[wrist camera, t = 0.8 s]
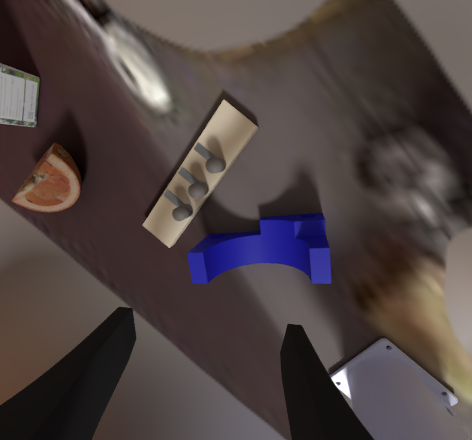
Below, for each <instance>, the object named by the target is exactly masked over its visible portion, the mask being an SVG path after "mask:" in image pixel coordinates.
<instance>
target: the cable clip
mask: <svg viewBox="0 0 472 440" xmlns="http://www.w3.org/2000/svg"><path fill="white" fill-rule="evenodd" d="M260 229H261V231H259V232H242V233H224V234H209V235H208V236H207V237H206V238H205V239H203V240H202V241H201V242H200V243H199V244H197V245H196V246H195V247H194V248H193V249H192V250H190V251H189V252H188V253H187V254H188V260H189V265H190V271H191V277H192V282H193V284H208V283H209V282H210V281H211V280H212V279H213V278H214V277H216V276H217V275H219V274H221V273H222V272H225V271H227V270H229V269H232V268H235V267H239V266H243V265H248V264H255V263H278V264H284V265H289V266H292V267H295V268H298V269H300V270H302V271H303V272H305V273H306V274H307V275H308V276H309V278H310V279H311V282H312V284H332V283H331V263H330V247H329V244H328V241H327V238H326V227H325V218H324V216H323V213H316V214H302V215H288V216H274V217H261V219H260Z"/></svg>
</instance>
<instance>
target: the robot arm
mask: <svg viewBox="0 0 472 440" xmlns="http://www.w3.org/2000/svg"><path fill="white" fill-rule="evenodd" d="M135 341H136V332H135V324H134V318H133V309H132V308H126V307H118V308H117V309H116V310H115V311H114V312H113V313H112V314H111V315H110V316H109V317H108V318H107V319H106V320H105V321H104V322H102V323H101V324H100V325H99V326H98V327H97V328H96V329H95V330H94V331H93V332H92V333H91V334H90V335H89V336H87V337H86V338H85V339H84V340H83V341H82V342H81V343H80V344H79V345H78V346H76V347H75V348H74V349H73V350H72V351H71V352H70V353H68V354H67V355H66V356H65V357H64V358H62V359H61V360H60V361H59V362H58V363H56V364H55V365H54V366H53V367H52V368H50V369H49V370H48V371H47V372H45V373H44V374H43V375H42V376H40V377H39V378H38V379H36V380H35V381H34V382H32V383H31V384H30V385H29V386H27V387H26V388H24V389H23V390H22V391H20V392H19V393H17V394H16V395H14V396H13V397H12V398H10V399H9V400H7V401H6V402H5V403H3V404H2V405H0V440H92V438H93V435H94V432H95V430H96V428H97V426H98V423H99V421H100V419H101V416H102V415H103V413H104V411H105V408H106V406H107V404H108V402H109V400H110V398H111V396H112V394H113V392H114V390H115V388H116V386H117V384H118V382H119V379H120V378H121V375H122V373H123V371H124V369H125V367H126V365H127V363H128V360H129V357H130V355H131V352H132V349H133V347H134V344H135ZM387 346H390V347H387ZM280 357H281V373H282V382H283V388H284V394H285V400H286V406H287V413H288V419H289V425H290V431H291V437H292V440H471V439H470V438H469V436H468V434H467V433H466V431H465V429H464V428H463V426H462V424H461V423H460V421H459V419H458V418H457V416H456V414H455V413H454V411H453V410H452V408H451V406H453V405H454V404H456V403H457V402H458V399H457V398H456V396H455V395H454V394H453V393H452V392H450V391H449V390H448V389H447V388H446V387H444V386H443V385H442V384H441V383H440V382H438V381H437V380H436V379H435V378H434V377H432V376H431V375H430V374H429V373H427V372H426V371H425V370H424V369H423V368H421V367H420V366H419V365H418V364H417V363H415V362H414V361H413V360H412V359H411V358H409V357H408V356H407V355H406V354H405V353H403V352H402V351H401V350H400V349H399V348H397V347H396V346H395V345H394V344H393V343H391V342H390V341H389V340H388V339H386V338H381V339H379V340H378V341H377V342H375V343H374V344H373V345H371V346H370V347H368V348H367V349H366V350H364V351H363V352H362V353H360V354H359V355H357V356H356V357H355V358H353V359H352V360H351V361H349V362H348V363H346V364H345V365H344V366H342V367H341V368H340V369H338V370H337V371H335V372H334V373H333V374H331V375H330V376H329V374H328V372H327V371H326V369H325V367H324V366H323V364H322V362H321V361H320V359H319V357H318V355H317V353H316V352H315V350H314V348H313V346H312V344H311V342H310V340H309V339H308V337H307V335H306V333H305V331H304V329H303V327H302V326H301V325H294V324H288V325H287V329H286V333H285V337H284V341H283V344H282V348H281V352H280ZM337 381H338V382H337ZM338 388H339V389H340V390H341V391H342V392H343V393H344V394H346V395H347V396H348V397H349V398H350V399H351V400H352V405H353V410H354V412H353V410H352V409H351V408H350V406H349V405H348V403H347V402H346V400H345V399H344V397H343V396H342V394H341V393H340V391H339V390H338ZM442 392H444V393H442Z"/></svg>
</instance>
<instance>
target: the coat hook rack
mask: <svg viewBox="0 0 472 440" xmlns="http://www.w3.org/2000/svg"><path fill="white" fill-rule="evenodd" d="M258 128H259V127H257V126H256V125H255V124H254V123H252V122H251V121H250V120H249V119H248V118H246V117H245V116H244V115H243V114H241V113H240V112H239V111H238V110H236V109H235V108H234V107H233V106H232V105H230V104H229V103H228V102H227V101H225V100H223V101H222V103H221V104H220V106H219V107H218V109H217V111H216V112H215V114H214V115H213V117H212V118H211V120H210V121H209V123H208V125H207V126H206V128H205V129H204V131H203V132H202V134H201V135H200V137H199V138H198V140H197V142H196V143H195V145H194V146H193V148H192V149H191V151H190V152H189V154H188V156H187V157H186V159H185V160H184V162H183V163H182V165H181V166H180V168H179V169H178V171H177V173H176V174H175V176H174V177H173V179H172V180H171V182H170V183H169V185H168V187H167V188H166V190H165V191H164V193H163V194H162V196H161V197H160V199H159V200H158V202H157V204H156V205H155V207H154V208H153V210H152V211H151V213H150V214H149V216H148V218H147V219H146V221H145V222H144V224H143V226H144V227H145V228H146V229H148V230H149V231H150V232H151V233H152V234H153V235H155V236H156V237H157V238H158V239H159V240H161V241H162V242H163V243H164V244H165V245H166V246H168V247H169V248H170V247H171V246H173V245H174V244H175V242H176V241H177V239H178V238H179V237H180V235H181V234H182V233H183V231H184V230H185V228H186V227H187V226H188V224H189V223H190V222H191V220H192V219H193V217H194V216H195V215H196V213H197V212H198V211H199V209H200V208H201V206H202V205H203V204H204V202H205V201H206V200H207V198H208V197H209V196H210V194H211V193H212V191H213V190H214V189H215V187H216V186H217V185H218V183H219V182H220V180H221V179H222V178H223V176H224V175H225V174H226V172H227V171H228V169H229V168H230V167H231V165H232V164H233V163H234V161H235V160H236V158H237V157H238V156H239V154H240V153H241V152H242V150H243V149H244V148H245V146H246V145H247V143H248V142H249V141H250V139H251V138H252V137H253V135H254V134H255V132H256V131H257V130H258Z"/></svg>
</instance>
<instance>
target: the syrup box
mask: <svg viewBox="0 0 472 440" xmlns="http://www.w3.org/2000/svg"><path fill="white" fill-rule="evenodd" d="M39 85H40V79H39V77H36V76H34V75H31V74H28V73H26V72H23V71H20V70H18V69H15V68H12V67H10V66H7V65H4V64H1V63H0V123H2V124H11V125H20V126H28V127H36V123H37V109H38V97H39Z"/></svg>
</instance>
